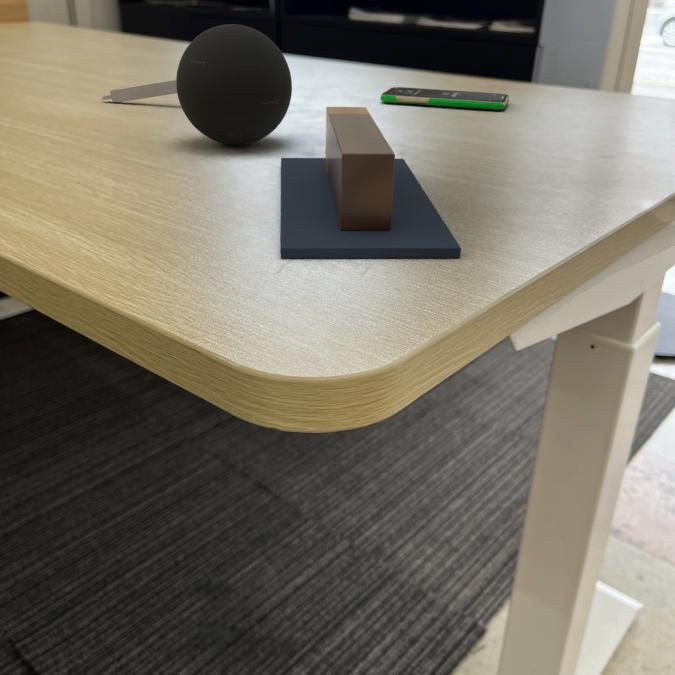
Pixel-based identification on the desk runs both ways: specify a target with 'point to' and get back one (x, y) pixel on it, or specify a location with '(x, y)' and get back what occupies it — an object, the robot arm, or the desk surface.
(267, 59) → the speaker
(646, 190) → the desk surface
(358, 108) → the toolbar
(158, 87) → the caliper
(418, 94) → the smartphone
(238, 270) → the desk surface
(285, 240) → the mat
